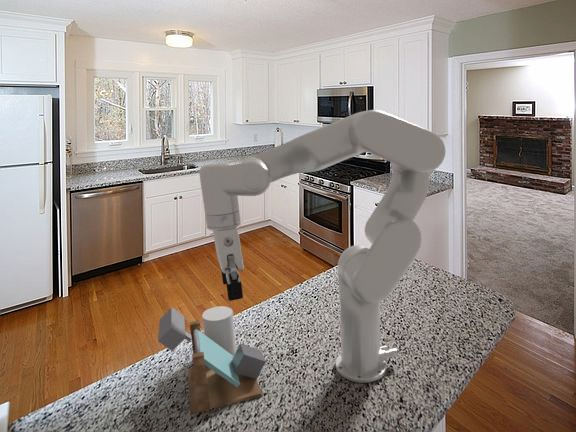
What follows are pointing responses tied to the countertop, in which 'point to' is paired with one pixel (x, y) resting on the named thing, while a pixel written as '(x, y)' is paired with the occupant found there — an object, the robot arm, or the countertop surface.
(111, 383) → the countertop surface
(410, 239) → the robot arm
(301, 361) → the countertop surface
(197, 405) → the frame
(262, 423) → the countertop surface
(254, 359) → the grey block
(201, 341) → the trapdoor
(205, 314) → the cup
